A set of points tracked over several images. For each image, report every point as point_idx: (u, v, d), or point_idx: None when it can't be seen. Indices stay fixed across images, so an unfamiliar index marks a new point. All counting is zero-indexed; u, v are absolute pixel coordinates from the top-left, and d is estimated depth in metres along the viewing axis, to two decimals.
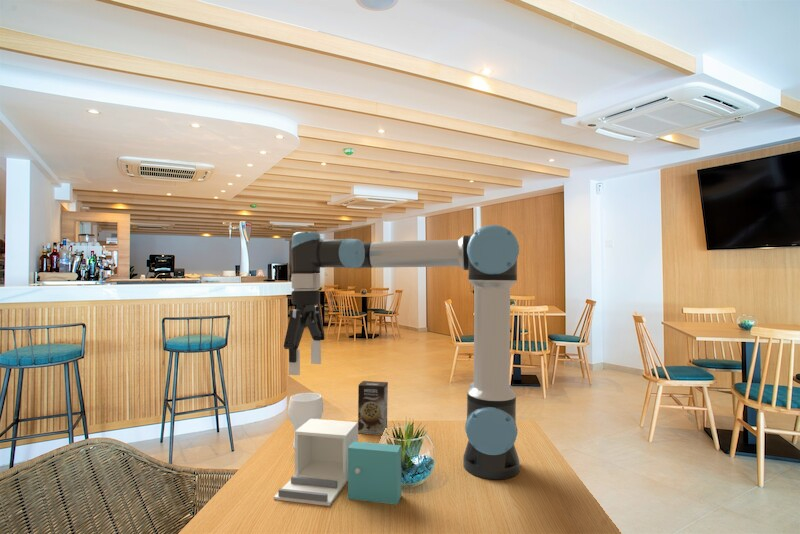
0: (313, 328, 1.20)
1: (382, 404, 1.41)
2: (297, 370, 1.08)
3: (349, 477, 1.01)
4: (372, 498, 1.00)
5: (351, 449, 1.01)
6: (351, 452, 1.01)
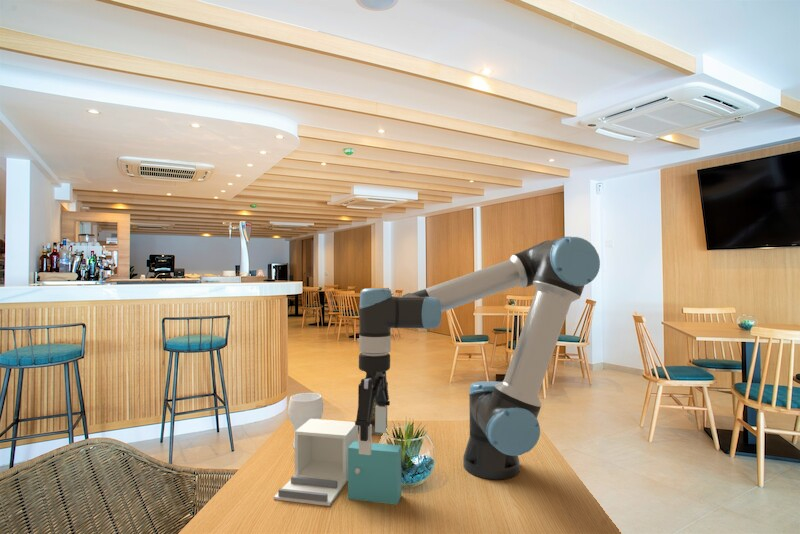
0: (379, 394, 1.07)
1: None
2: (369, 449, 0.95)
3: (349, 477, 1.01)
4: (372, 498, 1.00)
5: (351, 449, 1.01)
6: (351, 452, 1.01)
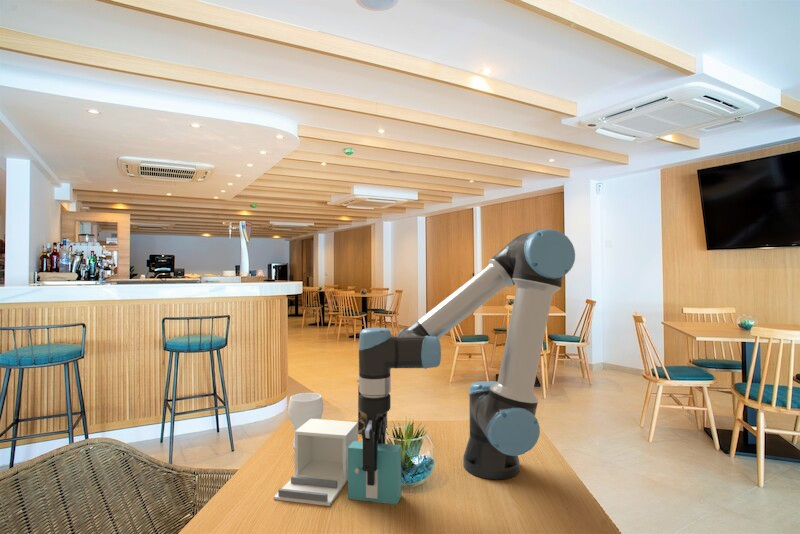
0: (377, 440, 1.04)
1: None
2: (375, 493, 0.99)
3: (349, 477, 1.01)
4: (372, 498, 1.00)
5: (351, 449, 1.01)
6: (351, 452, 1.01)
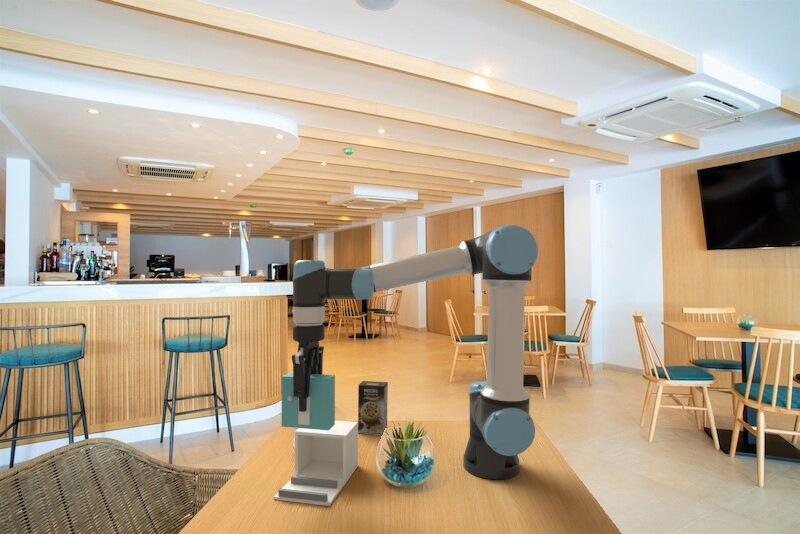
0: (312, 371, 1.06)
1: (382, 404, 1.41)
2: (307, 419, 1.01)
3: (282, 405, 1.03)
4: (304, 425, 1.02)
5: (284, 377, 1.03)
6: (285, 381, 1.03)
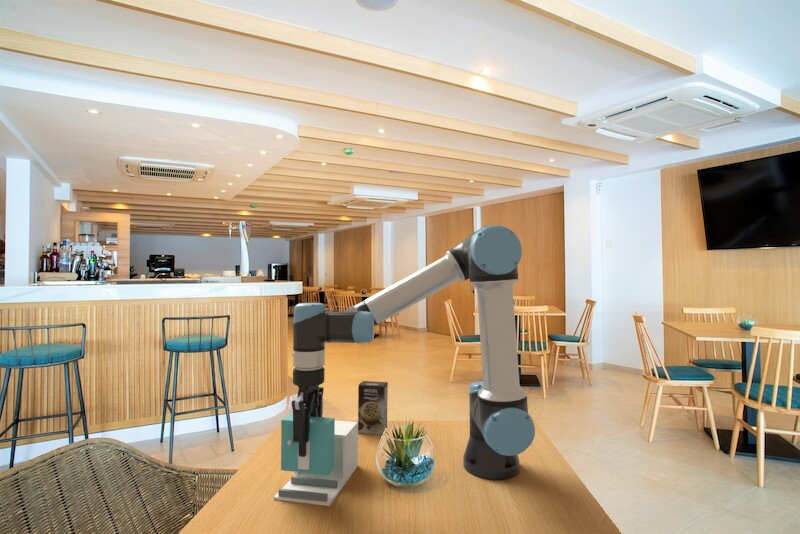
0: (312, 414, 1.06)
1: (382, 404, 1.41)
2: (307, 464, 1.01)
3: (282, 449, 1.03)
4: None
5: (284, 421, 1.03)
6: (285, 424, 1.03)
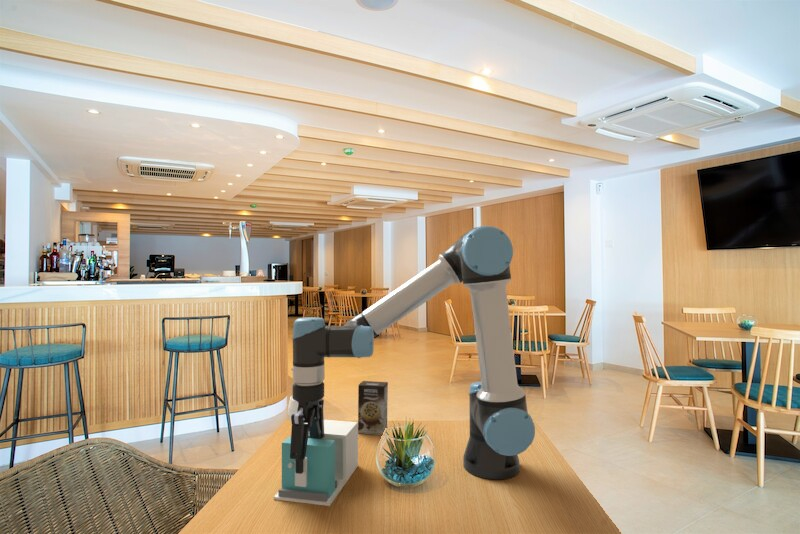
0: (313, 427, 1.06)
1: (382, 404, 1.41)
2: (304, 481, 0.99)
3: (283, 471, 1.03)
4: None
5: (285, 444, 1.03)
6: (285, 447, 1.03)
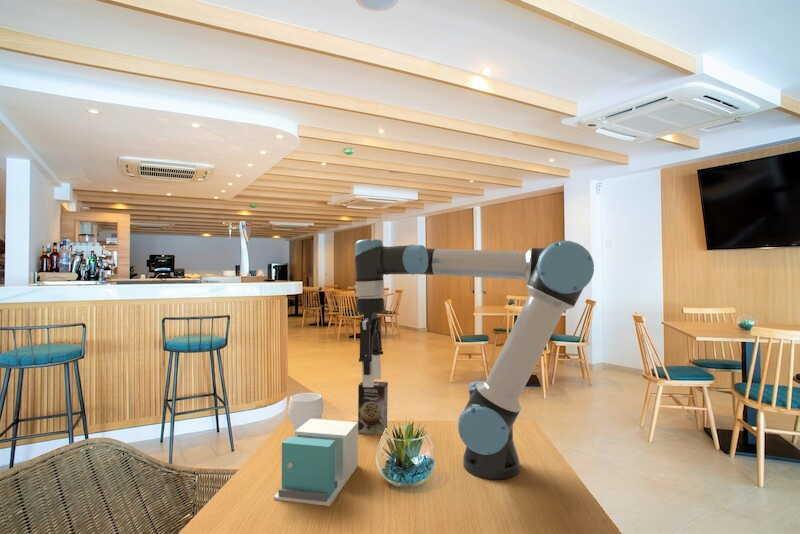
0: (374, 339, 1.18)
1: (382, 404, 1.41)
2: (371, 382, 1.10)
3: (283, 471, 1.03)
4: None
5: (285, 444, 1.03)
6: (285, 447, 1.03)
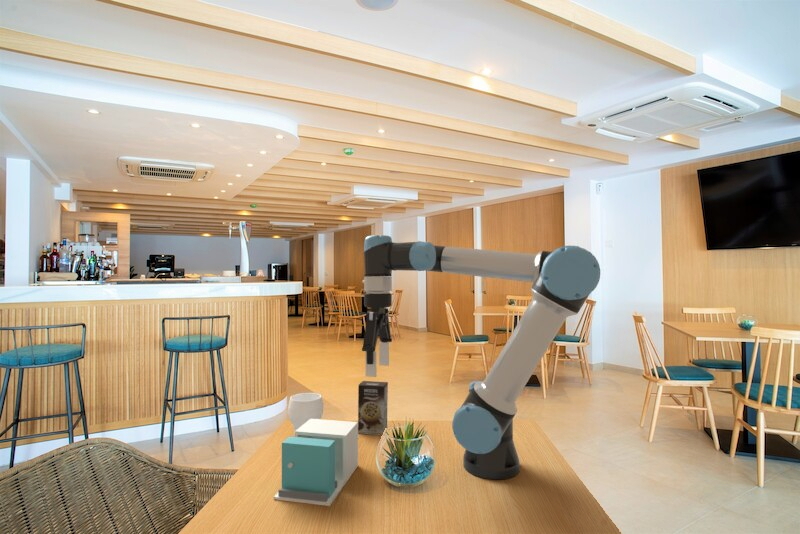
0: (382, 330, 1.21)
1: (382, 404, 1.41)
2: (374, 372, 1.10)
3: (283, 471, 1.03)
4: None
5: (285, 444, 1.03)
6: (285, 447, 1.03)
